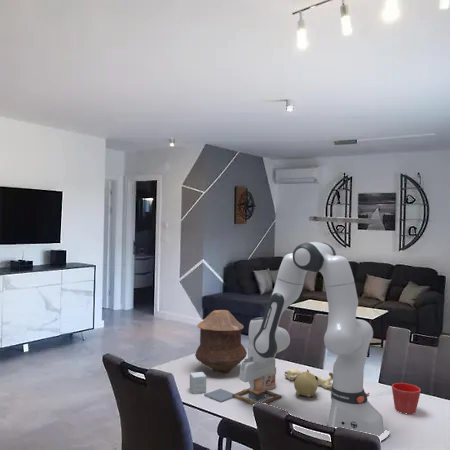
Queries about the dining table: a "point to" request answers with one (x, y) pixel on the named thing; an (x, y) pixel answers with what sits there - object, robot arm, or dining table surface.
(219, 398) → the pad
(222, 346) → the pottery vessel
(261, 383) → the tan domed square base
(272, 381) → the teacup with lid
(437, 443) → the dining table surface
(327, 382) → the cat figure
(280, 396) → the frame
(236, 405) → the dining table surface
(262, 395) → the grey square block
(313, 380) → the toy pig
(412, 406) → the flower pot
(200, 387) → the product box
